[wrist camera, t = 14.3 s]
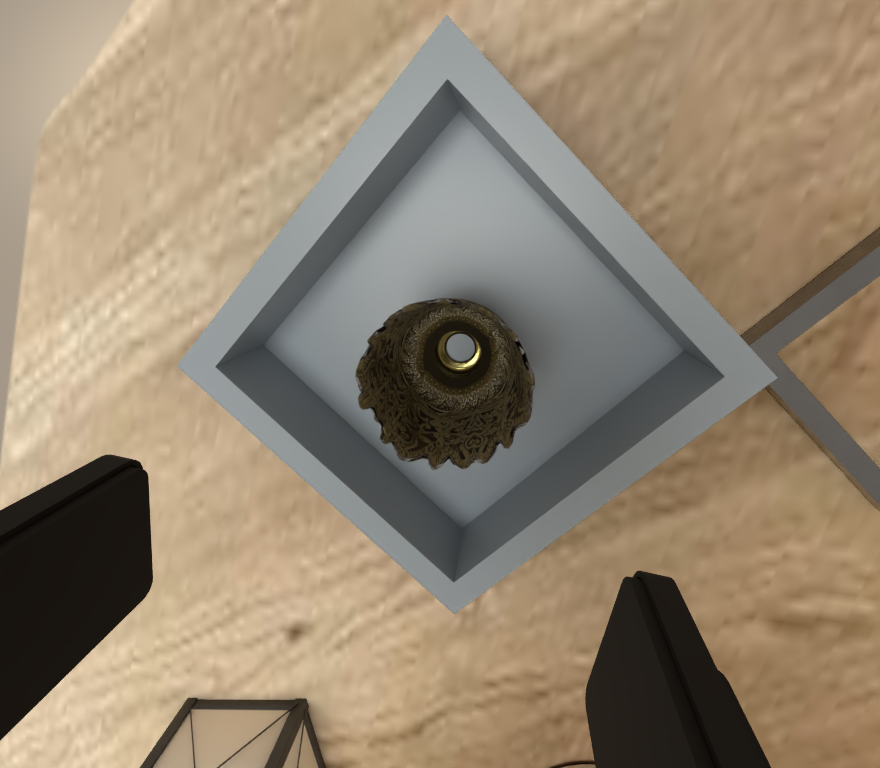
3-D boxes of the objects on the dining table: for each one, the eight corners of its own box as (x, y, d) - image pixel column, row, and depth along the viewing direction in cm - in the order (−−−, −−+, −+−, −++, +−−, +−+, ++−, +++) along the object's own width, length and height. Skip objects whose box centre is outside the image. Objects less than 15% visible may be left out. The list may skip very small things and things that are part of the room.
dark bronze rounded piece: (375, 312, 27) (324, 342, 19) (495, 258, 25) (490, 267, 18) (429, 425, 29) (401, 493, 21) (545, 382, 27) (560, 439, 19)
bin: (718, 346, 26) (777, 377, 20) (463, 547, 32) (454, 613, 26) (461, 67, 24) (446, 14, 18) (239, 341, 30) (176, 366, 24)
